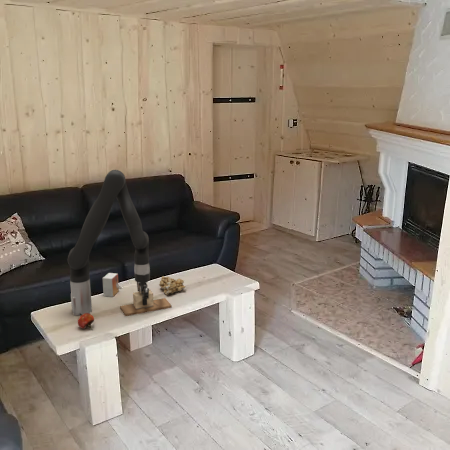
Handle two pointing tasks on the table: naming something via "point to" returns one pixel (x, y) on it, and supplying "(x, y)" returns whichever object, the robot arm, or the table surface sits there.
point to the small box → (110, 284)
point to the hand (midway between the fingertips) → (143, 302)
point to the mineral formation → (171, 285)
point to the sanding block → (138, 300)
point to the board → (157, 303)
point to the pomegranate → (85, 320)
